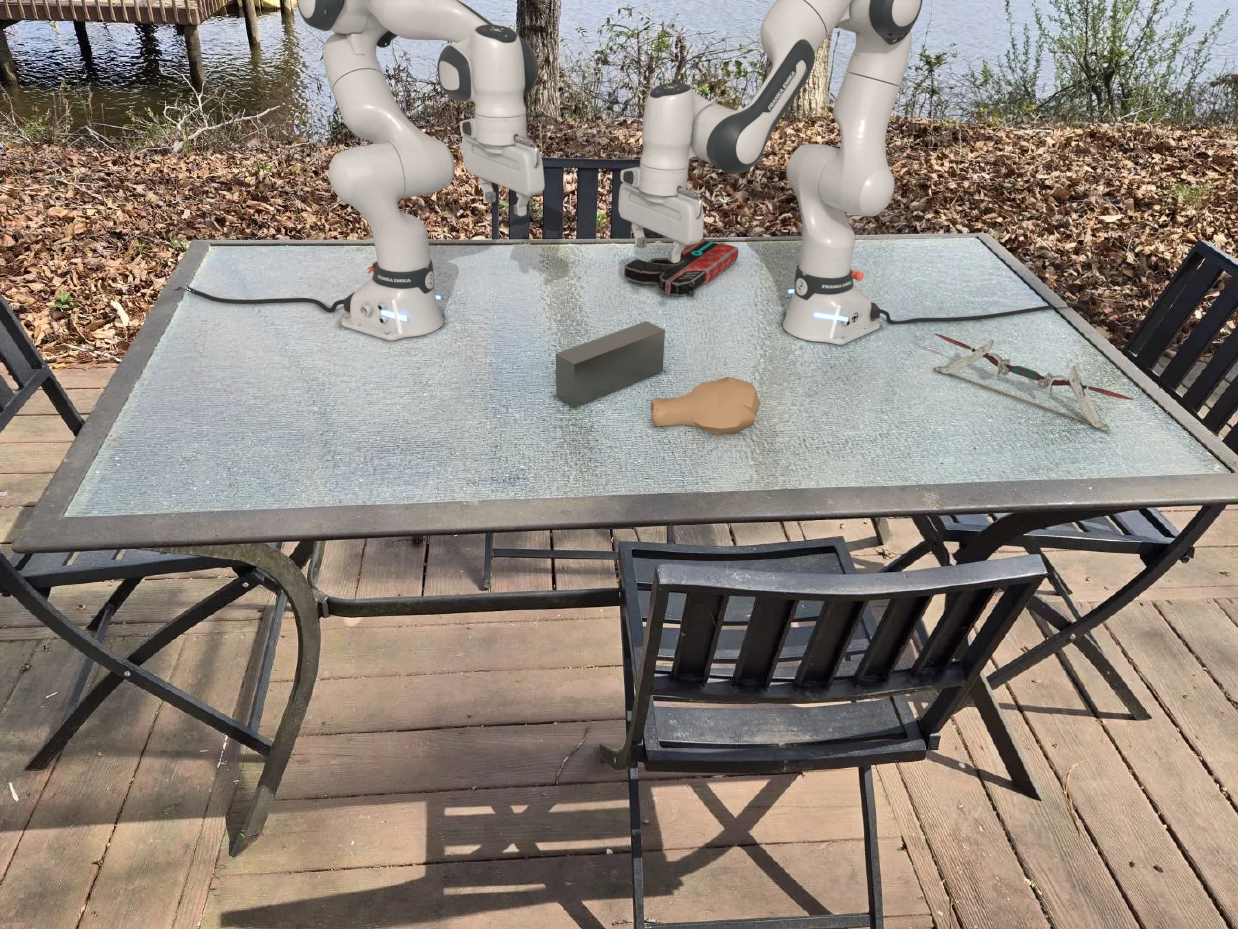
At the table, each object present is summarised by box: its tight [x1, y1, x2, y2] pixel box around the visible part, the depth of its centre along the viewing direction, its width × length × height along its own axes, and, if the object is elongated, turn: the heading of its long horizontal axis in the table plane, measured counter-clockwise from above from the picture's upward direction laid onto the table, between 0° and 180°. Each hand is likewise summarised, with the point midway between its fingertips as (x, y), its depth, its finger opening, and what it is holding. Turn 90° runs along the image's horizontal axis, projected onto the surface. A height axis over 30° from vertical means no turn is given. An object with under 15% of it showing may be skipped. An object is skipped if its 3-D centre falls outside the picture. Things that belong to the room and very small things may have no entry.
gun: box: [623, 237, 739, 298], centre depth 223 cm, size 4×31×19 cm
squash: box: [650, 376, 761, 436], centre depth 160 cm, size 11×20×9 cm, turn 90°
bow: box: [934, 333, 1135, 431], centre depth 171 cm, size 39×2×10 cm, turn 47°
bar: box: [555, 320, 666, 409], centre depth 172 cm, size 23×6×9 cm, turn 132°
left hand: (504, 208), depth 161 cm, fingers open, 8 cm apart
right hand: (657, 254), depth 167 cm, fingers open, 8 cm apart
